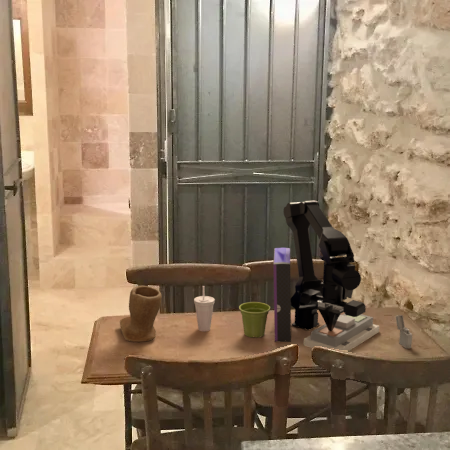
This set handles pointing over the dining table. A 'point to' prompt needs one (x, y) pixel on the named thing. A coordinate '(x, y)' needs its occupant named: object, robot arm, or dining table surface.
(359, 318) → the sage key
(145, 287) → the brown clay boot
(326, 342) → the grey piece
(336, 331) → the clay key
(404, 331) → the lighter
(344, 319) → the grey key
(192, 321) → the dining table surface
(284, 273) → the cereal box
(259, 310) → the plant pot
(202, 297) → the smoothie
